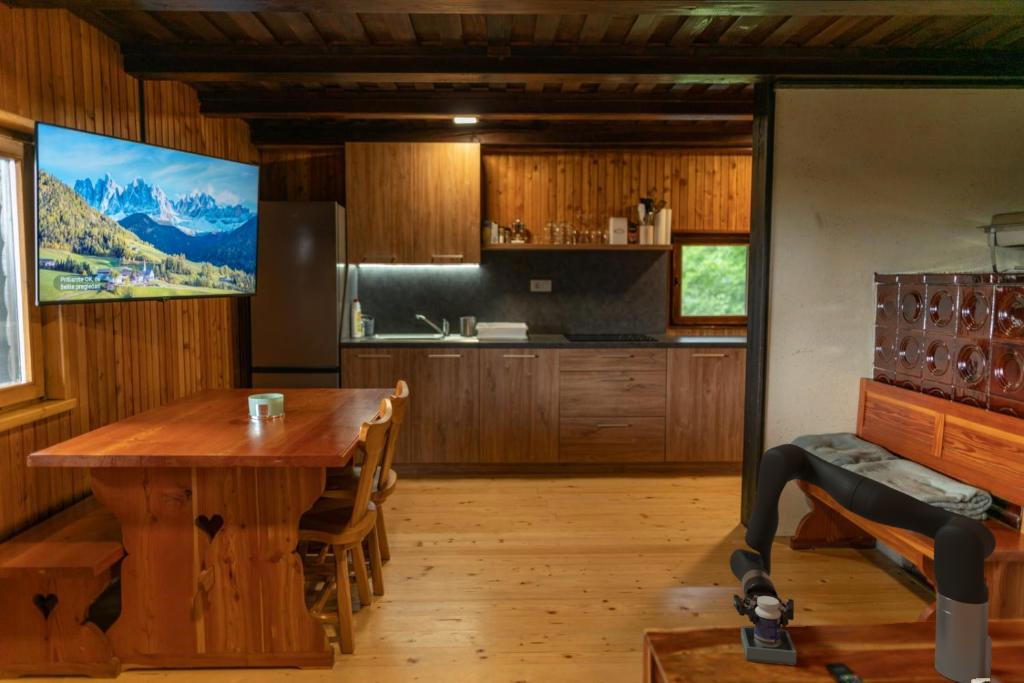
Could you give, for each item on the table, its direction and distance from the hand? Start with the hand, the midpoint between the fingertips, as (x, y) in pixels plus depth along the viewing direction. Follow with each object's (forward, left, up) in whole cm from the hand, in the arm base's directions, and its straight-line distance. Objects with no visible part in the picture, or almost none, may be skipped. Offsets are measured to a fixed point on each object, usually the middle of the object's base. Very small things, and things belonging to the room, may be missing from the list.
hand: (769, 621), depth 153 cm
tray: (0, -2, -8) cm, 9 cm away
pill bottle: (0, -3, -6) cm, 7 cm away
